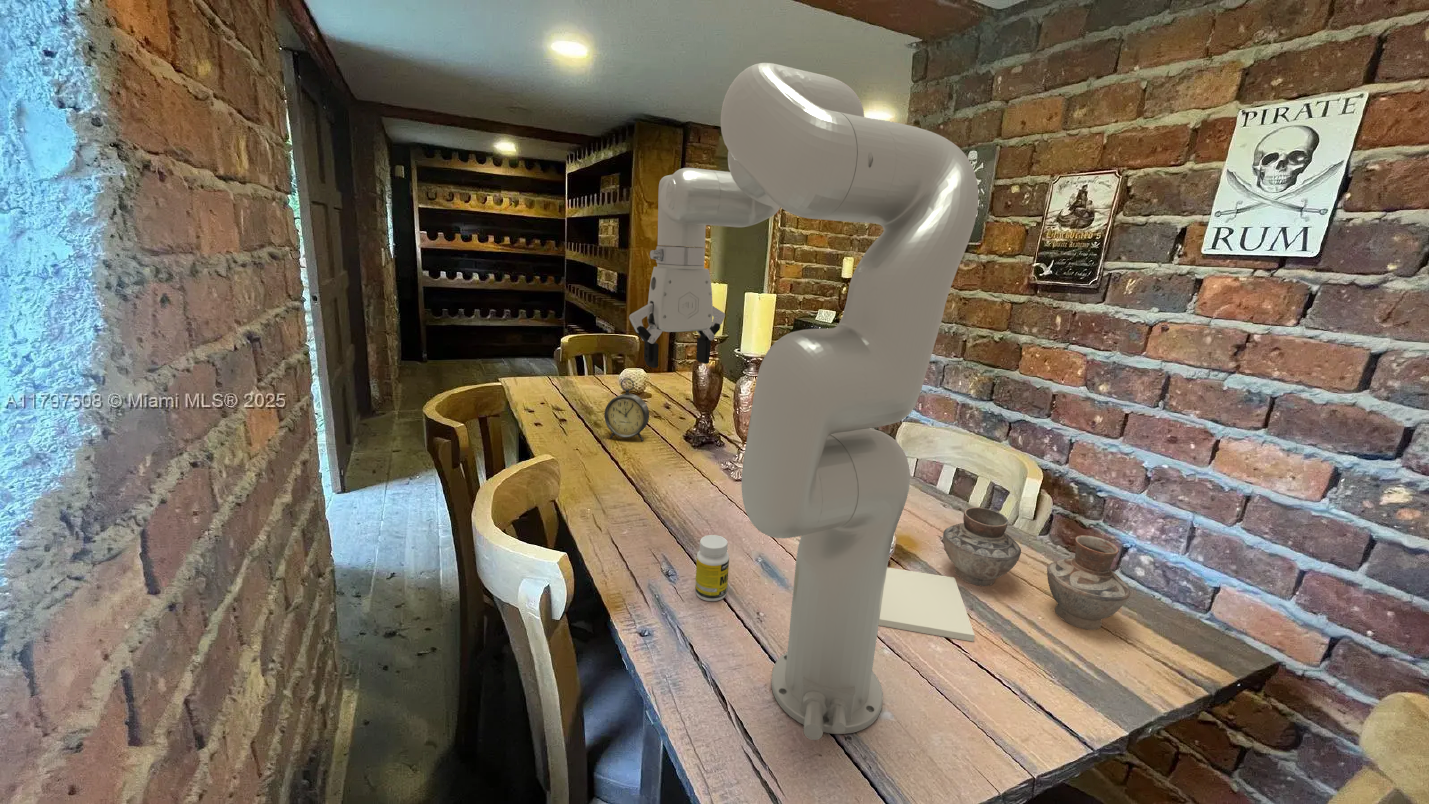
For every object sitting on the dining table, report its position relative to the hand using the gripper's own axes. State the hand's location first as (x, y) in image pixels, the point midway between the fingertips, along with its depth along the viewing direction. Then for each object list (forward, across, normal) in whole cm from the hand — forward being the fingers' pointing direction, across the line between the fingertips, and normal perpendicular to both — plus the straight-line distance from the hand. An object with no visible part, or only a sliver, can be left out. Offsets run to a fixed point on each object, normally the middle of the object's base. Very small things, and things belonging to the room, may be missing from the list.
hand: (677, 364), depth 94 cm
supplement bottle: (+30, -5, -21) cm, 37 cm away
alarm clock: (+30, +12, +47) cm, 57 cm away
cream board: (+30, +20, -37) cm, 51 cm away
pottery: (+30, +37, -44) cm, 65 cm away
